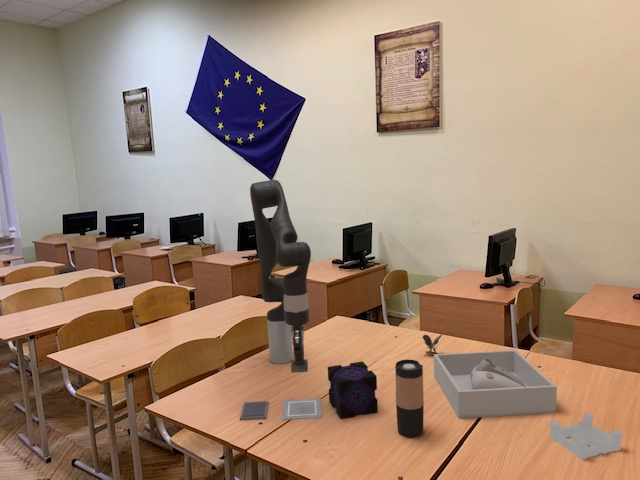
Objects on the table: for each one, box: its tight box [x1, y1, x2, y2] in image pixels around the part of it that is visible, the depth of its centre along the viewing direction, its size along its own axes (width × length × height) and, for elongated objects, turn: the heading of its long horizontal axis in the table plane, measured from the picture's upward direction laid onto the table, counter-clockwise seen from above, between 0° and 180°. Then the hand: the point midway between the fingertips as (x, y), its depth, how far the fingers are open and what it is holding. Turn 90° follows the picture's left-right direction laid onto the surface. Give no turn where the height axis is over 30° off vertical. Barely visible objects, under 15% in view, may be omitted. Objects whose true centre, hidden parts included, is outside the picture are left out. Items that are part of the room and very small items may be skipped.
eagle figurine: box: [422, 333, 443, 357], centre depth 193 cm, size 8×7×9 cm
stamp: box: [290, 344, 309, 374], centre depth 152 cm, size 5×5×8 cm
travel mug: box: [394, 359, 425, 439], centre depth 137 cm, size 8×8×20 cm
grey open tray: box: [433, 349, 558, 419], centre depth 158 cm, size 29×29×8 cm
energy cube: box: [327, 361, 379, 420], centre depth 154 cm, size 12×12×12 cm
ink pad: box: [239, 400, 270, 421], centre depth 154 cm, size 10×8×1 cm
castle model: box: [549, 412, 623, 461], centre depth 127 cm, size 15×15×7 cm
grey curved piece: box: [471, 358, 526, 390], centre depth 158 cm, size 16×17×11 cm
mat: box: [281, 398, 323, 421], centre depth 154 cm, size 12×12×1 cm
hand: (299, 360), depth 152 cm, fingers closed on stamp, 3 cm apart
